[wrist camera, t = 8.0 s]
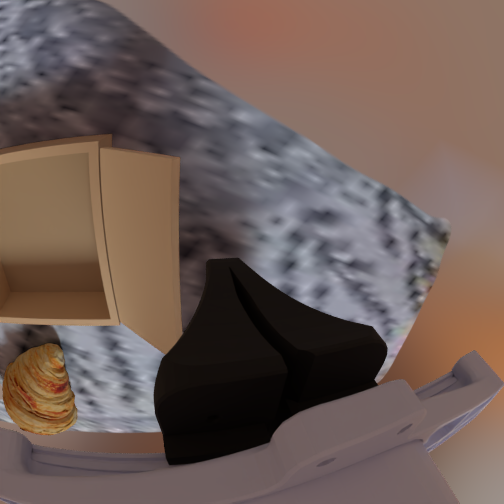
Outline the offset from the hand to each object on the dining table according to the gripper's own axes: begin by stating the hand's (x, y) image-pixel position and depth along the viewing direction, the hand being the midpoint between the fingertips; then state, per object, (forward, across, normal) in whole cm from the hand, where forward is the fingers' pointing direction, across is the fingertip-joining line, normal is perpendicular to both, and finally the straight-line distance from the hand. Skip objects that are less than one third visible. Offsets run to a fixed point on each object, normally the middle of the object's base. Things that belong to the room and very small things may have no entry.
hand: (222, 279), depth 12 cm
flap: (+4, +4, +1) cm, 6 cm away
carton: (+10, +12, +1) cm, 16 cm away
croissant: (+11, +20, +22) cm, 32 cm away
